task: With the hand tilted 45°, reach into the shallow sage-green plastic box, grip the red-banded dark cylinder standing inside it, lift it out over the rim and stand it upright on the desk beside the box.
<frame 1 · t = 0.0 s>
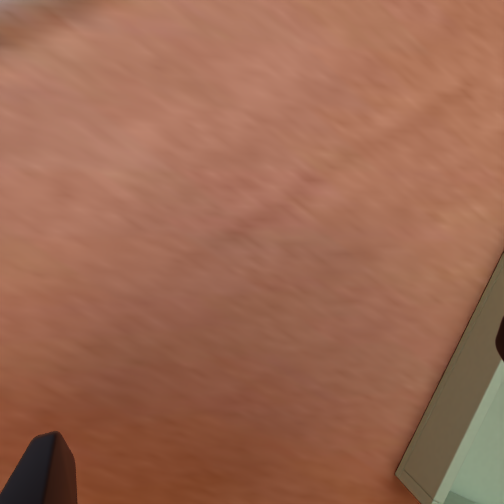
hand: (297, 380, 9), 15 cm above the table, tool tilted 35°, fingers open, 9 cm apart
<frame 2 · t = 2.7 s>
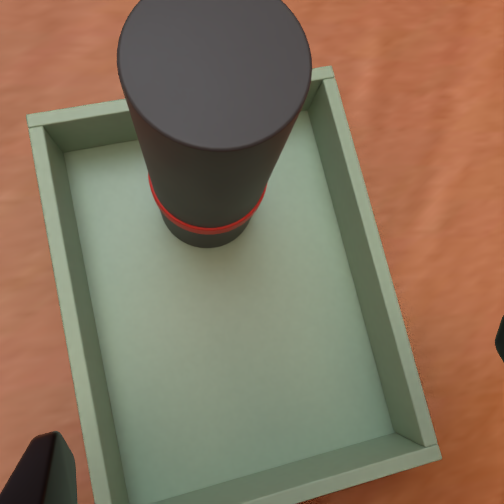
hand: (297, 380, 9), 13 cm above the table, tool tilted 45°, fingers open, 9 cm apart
red-banded dark cylinder: (206, 203, 22), resting on box
box: (226, 292, 22), on the table
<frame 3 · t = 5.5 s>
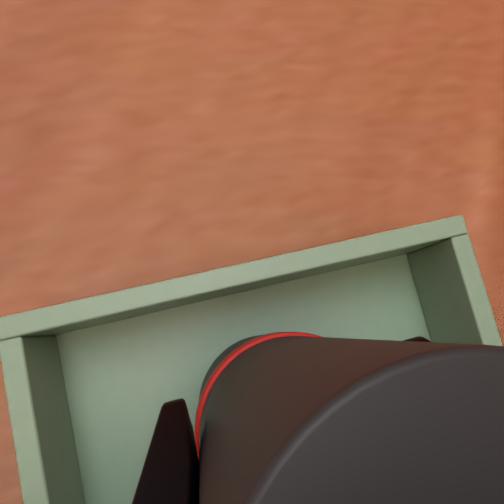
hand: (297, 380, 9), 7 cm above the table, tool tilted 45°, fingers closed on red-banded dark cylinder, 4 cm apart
red-banded dark cylinder: (266, 403, 15), point 1 cm above the table, touching box, gripper
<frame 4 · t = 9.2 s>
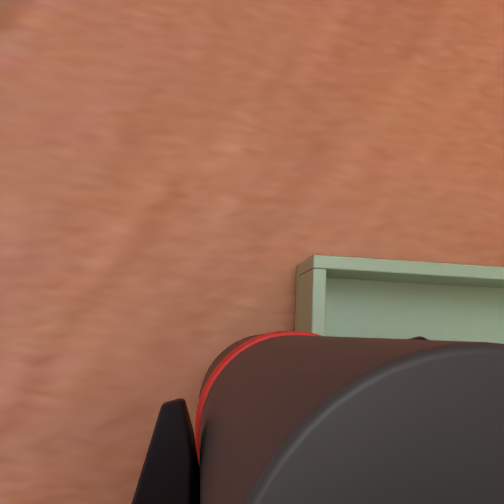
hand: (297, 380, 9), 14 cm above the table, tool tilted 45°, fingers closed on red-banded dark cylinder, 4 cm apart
red-banded dark cylinder: (267, 403, 15), point 7 cm above the table, touching gripper
box: (424, 449, 23), on the table
when the fingers open (6 cm above the table, at t = 13.2 s): red-banded dark cylinder stays where it is, on the table.
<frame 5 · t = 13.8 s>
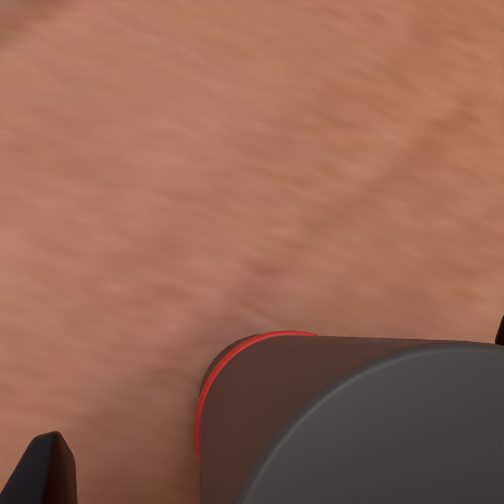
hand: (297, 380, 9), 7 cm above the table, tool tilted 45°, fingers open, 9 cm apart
red-banded dark cylinder: (265, 401, 15), on the table
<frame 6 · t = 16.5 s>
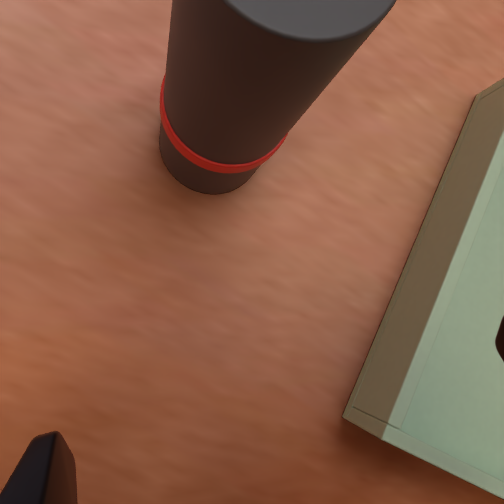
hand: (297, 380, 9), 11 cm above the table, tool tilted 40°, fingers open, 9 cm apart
red-banded dark cylinder: (210, 144, 20), on the table
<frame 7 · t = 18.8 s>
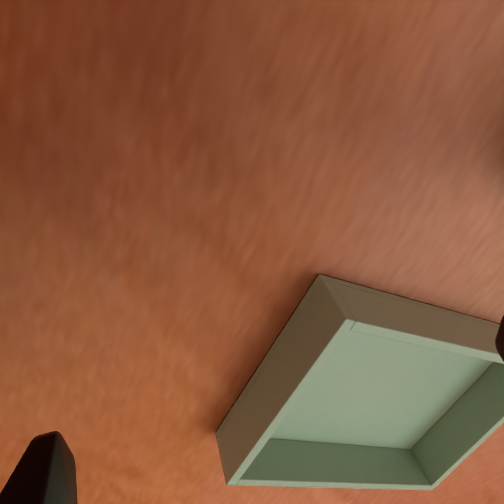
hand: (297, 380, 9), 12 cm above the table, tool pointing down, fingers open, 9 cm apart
box: (373, 379, 31), on the table
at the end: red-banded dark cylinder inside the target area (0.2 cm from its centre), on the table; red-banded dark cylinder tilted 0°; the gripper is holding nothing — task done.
